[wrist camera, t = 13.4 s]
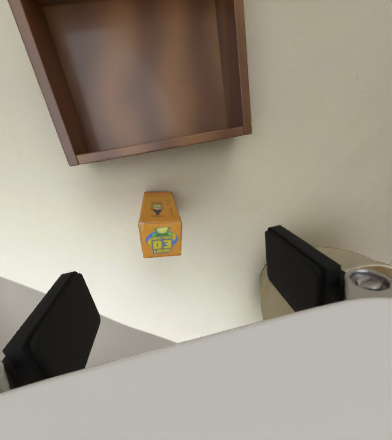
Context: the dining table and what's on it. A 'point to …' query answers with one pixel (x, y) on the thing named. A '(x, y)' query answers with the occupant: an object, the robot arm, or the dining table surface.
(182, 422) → the robot arm
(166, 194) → the supplement box
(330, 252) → the planter bowl
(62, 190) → the dining table surface
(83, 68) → the wooden tray
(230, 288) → the dining table surface
